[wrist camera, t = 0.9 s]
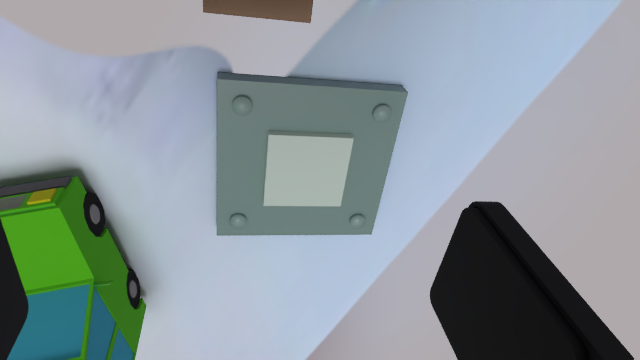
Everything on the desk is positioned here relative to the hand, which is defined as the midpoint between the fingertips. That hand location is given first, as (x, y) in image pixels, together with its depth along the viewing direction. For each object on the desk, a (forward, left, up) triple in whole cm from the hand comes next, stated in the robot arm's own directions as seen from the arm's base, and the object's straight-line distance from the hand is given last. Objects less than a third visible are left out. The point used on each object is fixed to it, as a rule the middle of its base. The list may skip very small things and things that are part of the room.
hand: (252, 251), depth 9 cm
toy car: (+17, -12, -20) cm, 29 cm away
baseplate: (+9, +5, -19) cm, 22 cm away
